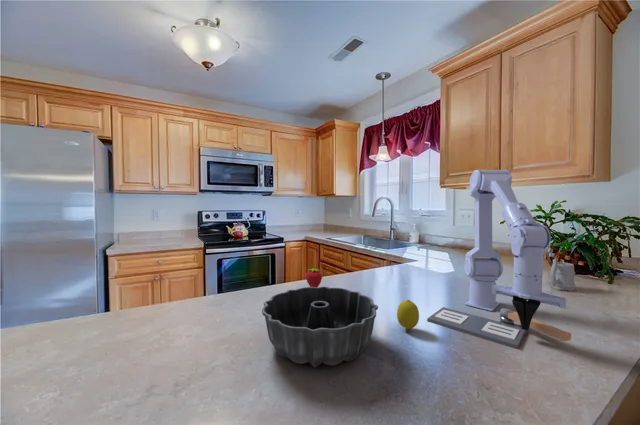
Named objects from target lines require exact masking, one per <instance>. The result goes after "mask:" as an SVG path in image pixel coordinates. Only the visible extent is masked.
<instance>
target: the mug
mask: <svg viewBox="0 0 640 425" xmlns="http://www.w3.org/2000/svg"><path fill="white" fill-rule="evenodd" d="M575 275H576V271H575V265H574V263H570V262H569V263H568V262H563V261H558V259H552V265H551V268H550V273H549V284H550V286H551V288H553V289H557V290H560V291H567V290H568V291H570V292H571V291H574V290H575V288H576V284H575Z"/></svg>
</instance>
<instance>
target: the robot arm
mask: <svg viewBox="0 0 640 425" xmlns="http://www.w3.org/2000/svg"><path fill="white" fill-rule="evenodd" d="M512 182H513V176H512V174H511V172H510V170H508V169H475V170H473V172H472V173H471V175H470V178H469V195H470V196H471V197H472V198H474V248H472V249H471V250H469V251H467V252H466V253H465V260H464V262H463V268H464V272H465V274H466V276H467V277H469V292H468V293H469V294H468V295H469V297H468V298H469V299H468V300H467V301H466V302H465V303H464V305H465V306H469V307H473V308H478V309H481V310H486V311H491V312H494V310H495V309H496V308H497V307H498V306H499V305H500V302H499V301H497V295H500V296H501V295H502V296H507V297H511V298H512V299H511V303H512V305H513V307H514V309H515V312H517V313H518V316H519V319H520V323H519V324H520V327H521V329H523V330H526V332H528V331H529V330H530V329H531V328H530V323H531V320H532V319H533V317H534V315H535V314H536V312H537V310H538V309H539V308H540V306H541V303H542V304H545V305H550V306H555V307H559V308H562V309H566V307H567V298H566V297H562V296H559V295H558V296H557V295H553V294H549V293H547V292H546V293H545V292H543V291H542V290H543V270H544V251H545V250H544V249H548V247H549V246H550V244H551V238H552V237H551V233H550V231H549V228H548V227H547V226H546V225H544V224H541V223H540V222H537V221H536V220H535V218H534V217H533V215H532V214H531V212H530V210H529V209H528V207H527V206H526V204H524V203H523V202H518V199H517V196H516V194H515V193H514V191H513V188H512ZM495 198H496V199H497V201H498V202H499V204H500V205H501V206H502V207H503V208H502V211H501V216H502V217H503V219H504V221H505V223H506V226H507V227H508V229H509V230H510V232H509V235H508V236H509V237H508V238H509V244H510V245H511V246H510V247H511V254H512V255H513V272H512V274H513V276H512V286H504V285H498V284H497V283H496V281H499V280H498V279H499V278H500V277H501V276H502V275H503V271H504V267H503V264H502V261H501V259H502V258H501V255H500V254H499V253H498V252H496V251H495V250H494V249H493V200H494V199H495Z"/></svg>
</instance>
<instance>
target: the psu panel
mask: <svg viewBox="0 0 640 425" xmlns="http://www.w3.org/2000/svg"><path fill="white" fill-rule="evenodd" d="M426 321H427V322H428V323H431V324H434V325H439V326H441V327H445V328H448V329H453V330H455V331H459V332H462V333H464V334H469V335H470V336H475V337H478V338H481V339H484V340H487V341H490V342H494V343H497V344H500V345H504V346H507V347H510V348H512V349H513V348H514V349H516V350H517V349H518V348H519V346H520V344H521V343H522V340H523V338H524V336H525V334H526V332H527V330H523V329H521V326H517V325H514V326H513V325H510V324H506V323H502V322H500V321H498V320H494V319H490V318H485V317H483V316H482V317H481V316H478V315H475V314H470V313H467V312H463V311H459V310H455V309H453V308H452V309H451V308H448V307H441V308H440V309H438V310H437V311H436V312H434V313H433V314H432V315H430V316H429V317H427V320H426Z"/></svg>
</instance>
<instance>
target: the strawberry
mask: <svg viewBox="0 0 640 425" xmlns="http://www.w3.org/2000/svg"><path fill="white" fill-rule="evenodd" d="M311 265H312V267H313V268H309V269H307V272H306V274H305V279H306V282H307V284H308V287H320V284H321V282H322V279H323V275H322V274H323V273H321V269H319V268H315V266H314V265H313V264H311Z"/></svg>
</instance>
